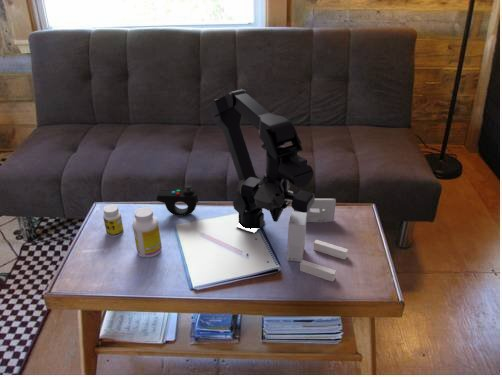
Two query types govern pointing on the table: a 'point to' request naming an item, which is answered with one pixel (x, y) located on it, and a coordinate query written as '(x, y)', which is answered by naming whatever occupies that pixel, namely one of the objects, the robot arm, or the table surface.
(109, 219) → the supplement bottle
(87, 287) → the table surface
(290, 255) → the skincare box
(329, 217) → the cassette
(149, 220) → the supplement bottle
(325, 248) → the u rest
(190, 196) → the controller
